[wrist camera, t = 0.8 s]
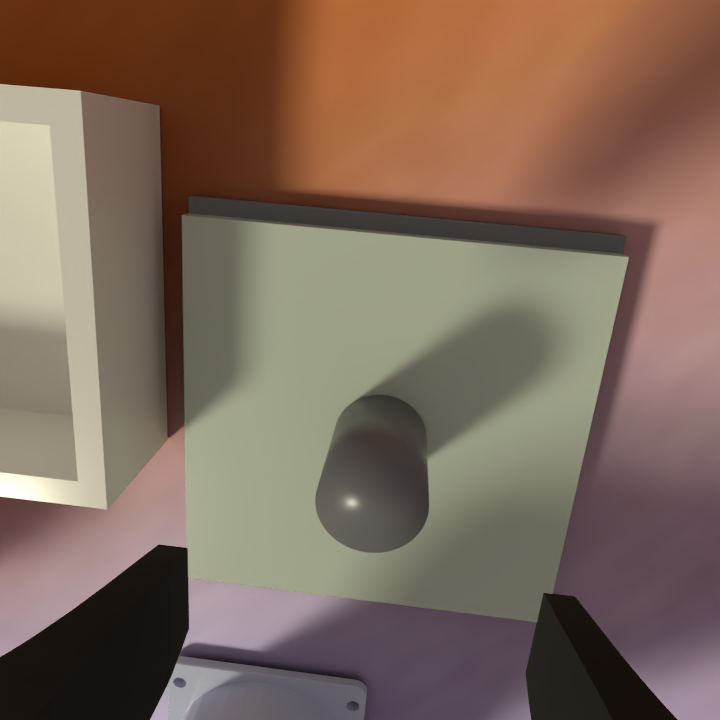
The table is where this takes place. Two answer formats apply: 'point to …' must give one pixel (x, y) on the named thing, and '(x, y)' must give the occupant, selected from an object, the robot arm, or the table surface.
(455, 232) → the mat
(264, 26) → the table surface
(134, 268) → the dish
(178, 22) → the table surface
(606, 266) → the lid
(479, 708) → the table surface
